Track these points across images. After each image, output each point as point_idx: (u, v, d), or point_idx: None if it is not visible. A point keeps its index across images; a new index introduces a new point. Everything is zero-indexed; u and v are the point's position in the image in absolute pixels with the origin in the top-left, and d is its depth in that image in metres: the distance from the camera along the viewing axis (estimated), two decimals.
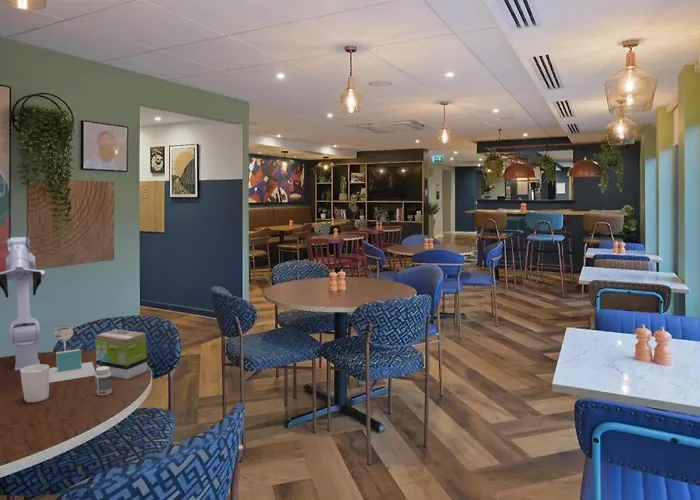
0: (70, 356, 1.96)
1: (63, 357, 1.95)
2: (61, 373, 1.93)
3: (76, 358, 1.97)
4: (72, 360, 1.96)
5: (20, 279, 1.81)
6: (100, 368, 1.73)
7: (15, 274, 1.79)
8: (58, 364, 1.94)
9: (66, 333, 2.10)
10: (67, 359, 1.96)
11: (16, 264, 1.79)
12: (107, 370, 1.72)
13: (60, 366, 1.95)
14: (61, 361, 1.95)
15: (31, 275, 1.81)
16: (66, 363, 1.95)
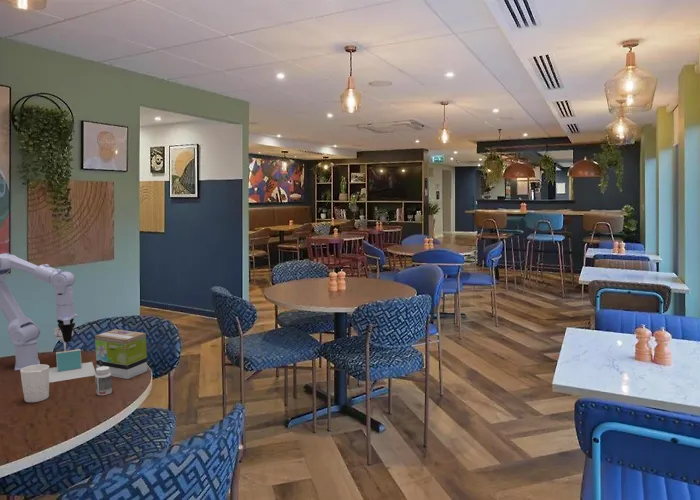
0: (70, 356, 1.96)
1: (63, 357, 1.95)
2: (61, 373, 1.93)
3: (76, 358, 1.97)
4: (72, 360, 1.96)
5: None
6: (100, 368, 1.73)
7: None
8: (58, 364, 1.94)
9: None
10: (67, 359, 1.96)
11: (73, 311, 2.00)
12: (107, 370, 1.72)
13: (60, 366, 1.95)
14: (61, 361, 1.95)
15: None
16: (66, 363, 1.95)
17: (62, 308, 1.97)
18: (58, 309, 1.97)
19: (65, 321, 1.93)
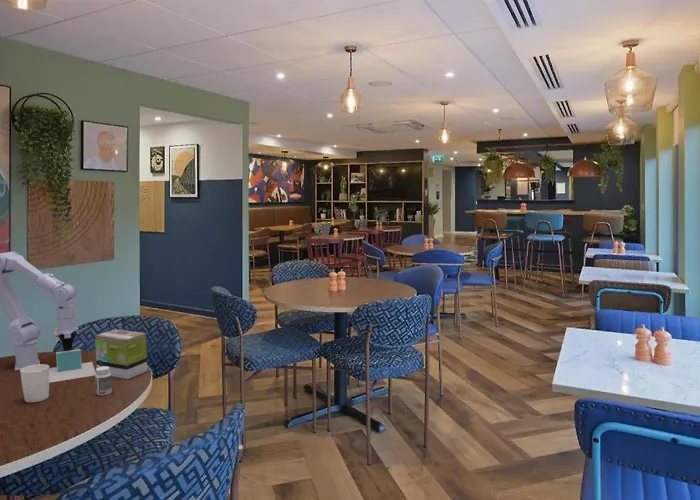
0: (70, 356, 1.96)
1: (63, 357, 1.95)
2: (61, 373, 1.93)
3: (76, 358, 1.97)
4: (72, 360, 1.96)
5: None
6: (100, 368, 1.73)
7: None
8: (58, 364, 1.94)
9: None
10: (67, 359, 1.96)
11: (74, 324, 2.00)
12: (107, 370, 1.72)
13: (60, 366, 1.95)
14: (61, 361, 1.95)
15: None
16: (66, 363, 1.95)
17: (63, 321, 1.97)
18: (59, 322, 1.97)
19: (66, 335, 1.93)
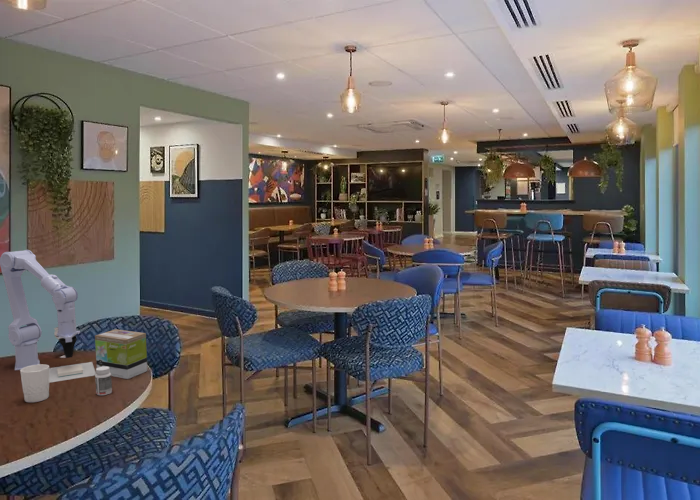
0: None
1: None
2: None
3: None
4: None
5: None
6: (100, 368, 1.73)
7: None
8: None
9: None
10: None
11: (75, 327, 1.95)
12: (107, 370, 1.72)
13: None
14: None
15: None
16: None
17: (64, 325, 1.91)
18: (60, 326, 1.91)
19: (67, 339, 1.88)
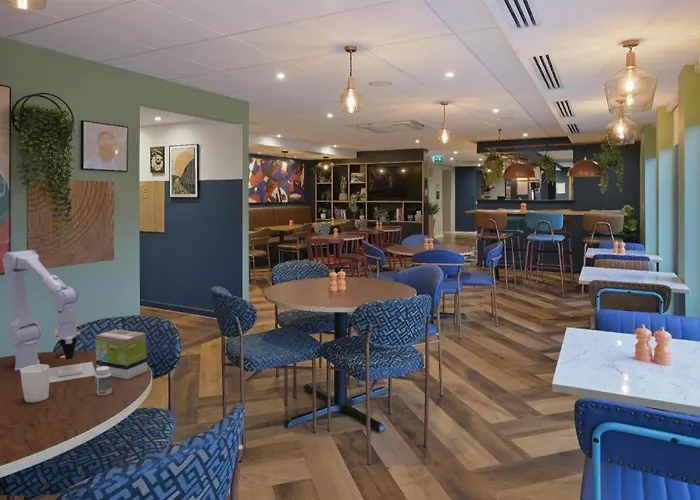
0: None
1: None
2: None
3: None
4: None
5: None
6: (100, 368, 1.72)
7: None
8: None
9: None
10: None
11: (75, 329, 1.93)
12: (107, 370, 1.72)
13: None
14: None
15: None
16: None
17: (64, 326, 1.89)
18: (60, 327, 1.90)
19: (67, 340, 1.86)
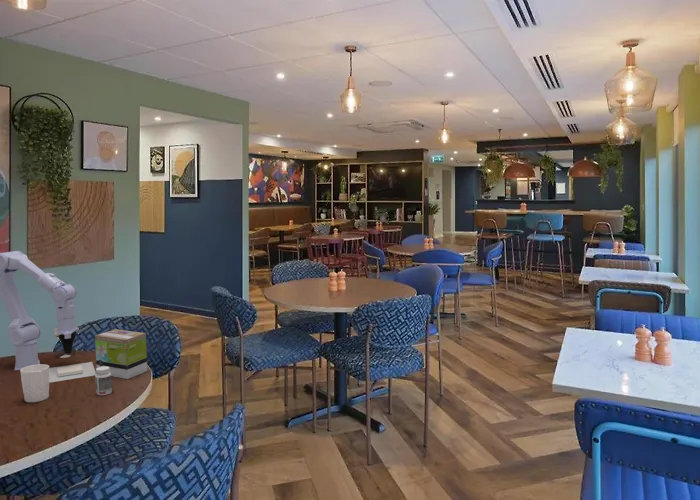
0: None
1: None
2: None
3: None
4: None
5: None
6: (100, 368, 1.73)
7: None
8: None
9: None
10: None
11: (74, 324, 1.98)
12: (107, 370, 1.72)
13: None
14: None
15: None
16: None
17: (63, 322, 1.95)
18: (59, 323, 1.95)
19: (66, 335, 1.92)
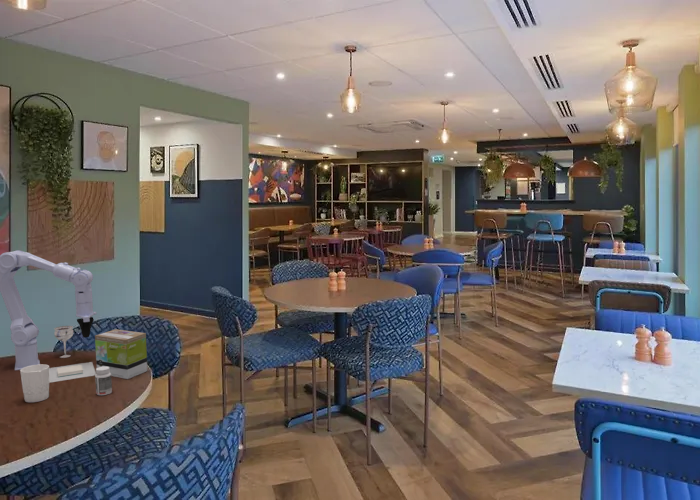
0: None
1: None
2: None
3: None
4: None
5: None
6: (100, 368, 1.72)
7: None
8: None
9: (66, 333, 2.10)
10: None
11: (92, 308, 2.04)
12: (107, 370, 1.72)
13: None
14: None
15: None
16: None
17: (82, 306, 2.00)
18: (78, 307, 2.00)
19: (85, 319, 1.97)
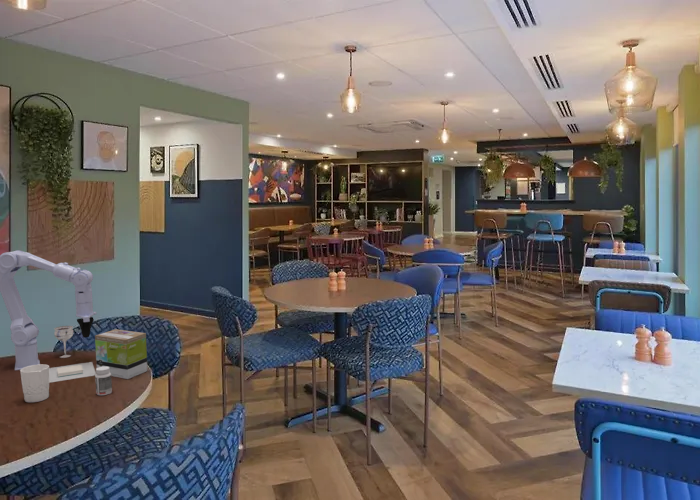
0: None
1: None
2: None
3: None
4: None
5: None
6: (100, 368, 1.73)
7: None
8: None
9: (66, 333, 2.10)
10: None
11: (92, 308, 2.04)
12: (107, 370, 1.72)
13: None
14: None
15: None
16: None
17: (82, 306, 2.00)
18: (78, 307, 2.00)
19: (85, 319, 1.97)
